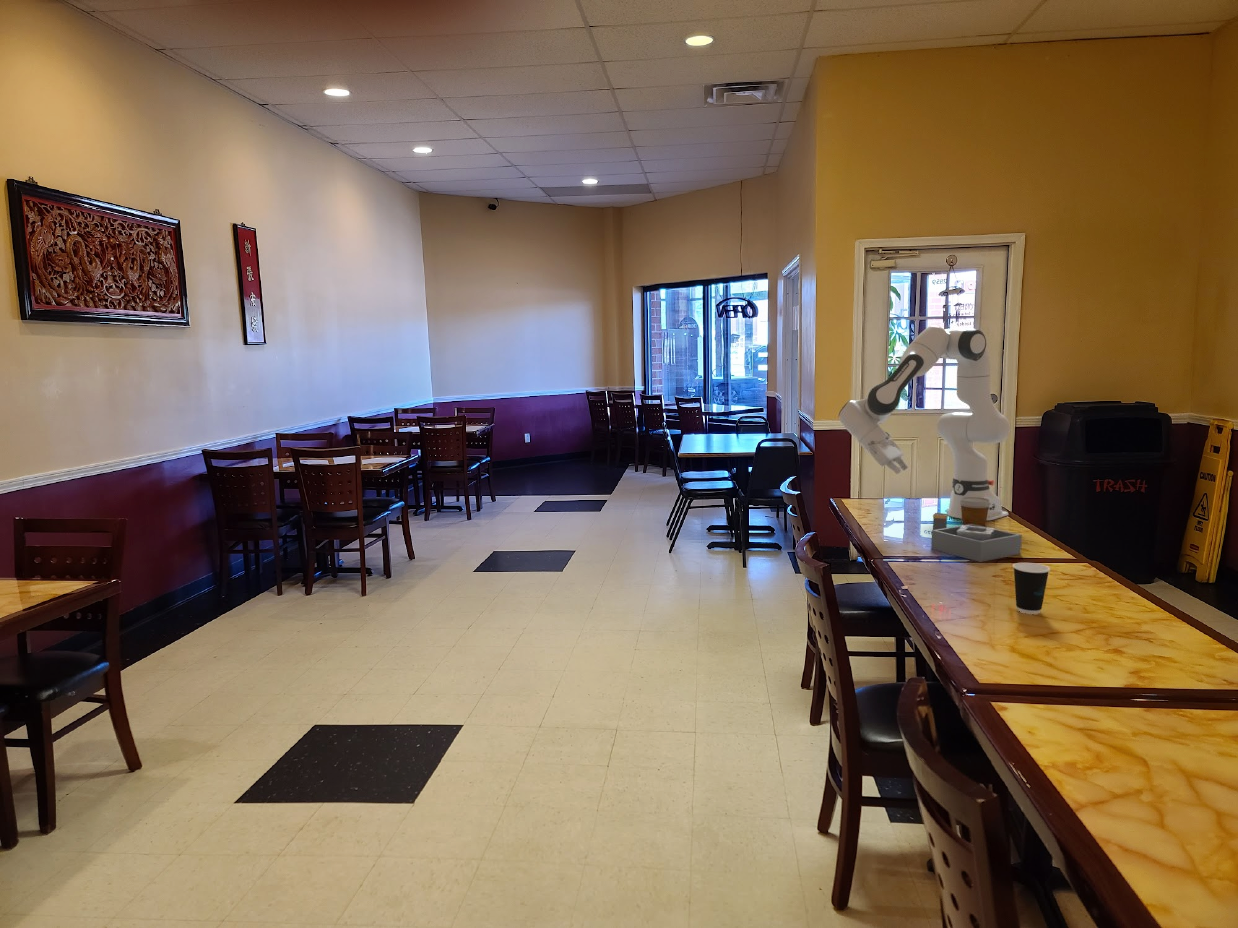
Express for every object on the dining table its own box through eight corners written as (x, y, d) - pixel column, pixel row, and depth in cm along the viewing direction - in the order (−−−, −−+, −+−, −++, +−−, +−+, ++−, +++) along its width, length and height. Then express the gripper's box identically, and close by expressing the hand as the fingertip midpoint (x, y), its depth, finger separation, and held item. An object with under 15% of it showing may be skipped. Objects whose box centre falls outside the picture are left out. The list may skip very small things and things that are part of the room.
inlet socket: (961, 543, 246) (962, 524, 245) (994, 546, 241) (995, 528, 240) (956, 549, 238) (957, 530, 237) (989, 553, 233) (990, 534, 232)
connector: (934, 535, 260) (935, 512, 259) (946, 537, 258) (947, 513, 257) (932, 538, 257) (933, 514, 256) (944, 539, 255) (945, 515, 254)
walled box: (970, 541, 252) (971, 523, 251) (1020, 553, 236) (1021, 534, 235) (931, 548, 244) (931, 530, 243) (980, 561, 228) (981, 542, 227)
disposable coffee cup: (993, 536, 257) (995, 501, 256) (965, 537, 258) (966, 502, 256) (981, 530, 267) (982, 496, 265) (953, 530, 267) (955, 496, 265)
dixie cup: (1047, 618, 179) (1050, 573, 178) (1009, 613, 183) (1011, 568, 182) (1047, 608, 186) (1050, 564, 185) (1010, 603, 190) (1013, 560, 189)
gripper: (873, 437, 255) (902, 468, 251) (889, 432, 272) (916, 461, 268) (859, 449, 258) (888, 480, 254) (876, 444, 275) (903, 473, 271)
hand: (903, 470), depth 261 cm, fingers open, 8 cm apart
